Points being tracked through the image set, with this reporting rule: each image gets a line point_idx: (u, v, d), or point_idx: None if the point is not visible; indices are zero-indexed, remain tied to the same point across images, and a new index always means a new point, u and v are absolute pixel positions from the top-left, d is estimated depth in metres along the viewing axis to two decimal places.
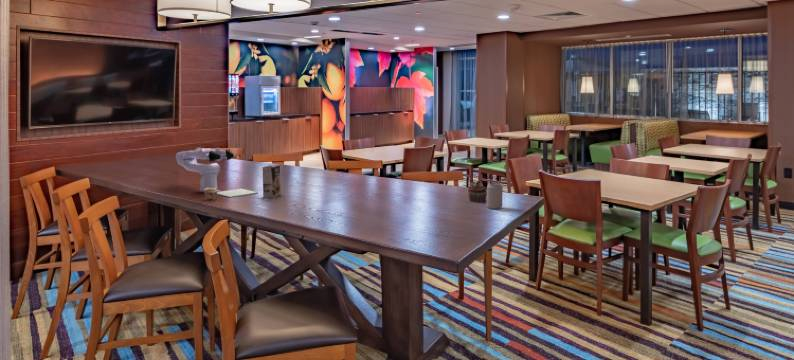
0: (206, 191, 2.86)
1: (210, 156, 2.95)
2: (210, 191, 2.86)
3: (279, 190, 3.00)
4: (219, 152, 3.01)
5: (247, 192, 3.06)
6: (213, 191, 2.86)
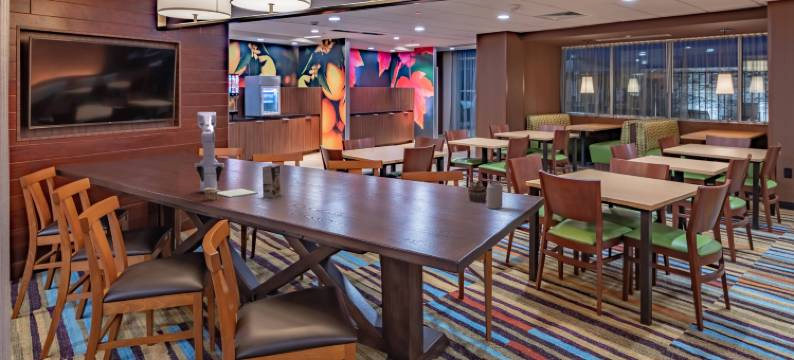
0: (206, 191, 2.86)
1: None
2: (210, 191, 2.86)
3: (279, 190, 3.00)
4: None
5: (247, 192, 3.06)
6: (213, 191, 2.86)
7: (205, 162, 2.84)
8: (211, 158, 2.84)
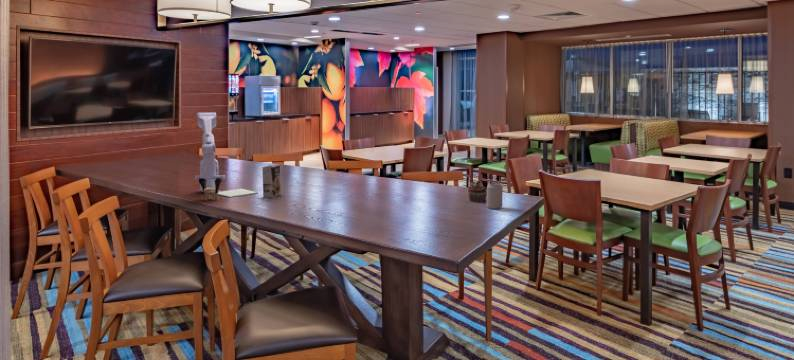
0: (206, 191, 2.86)
1: None
2: (210, 191, 2.86)
3: (279, 190, 3.00)
4: None
5: (247, 192, 3.06)
6: (213, 191, 2.86)
7: (206, 174, 2.85)
8: (211, 171, 2.85)
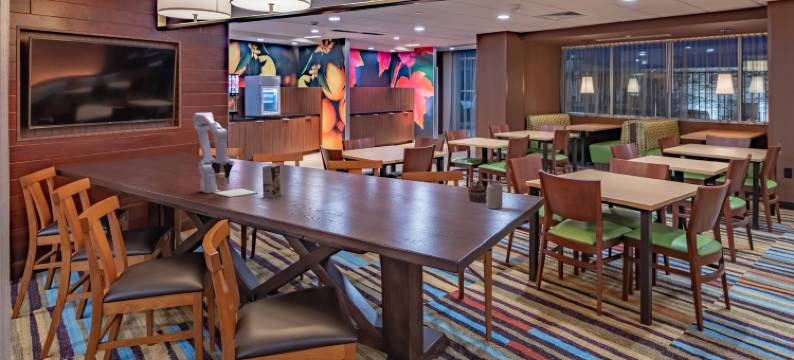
0: (216, 176, 2.93)
1: None
2: (219, 176, 2.93)
3: (279, 190, 3.00)
4: None
5: (247, 192, 3.06)
6: (222, 176, 2.92)
7: (216, 159, 2.92)
8: (221, 155, 2.91)
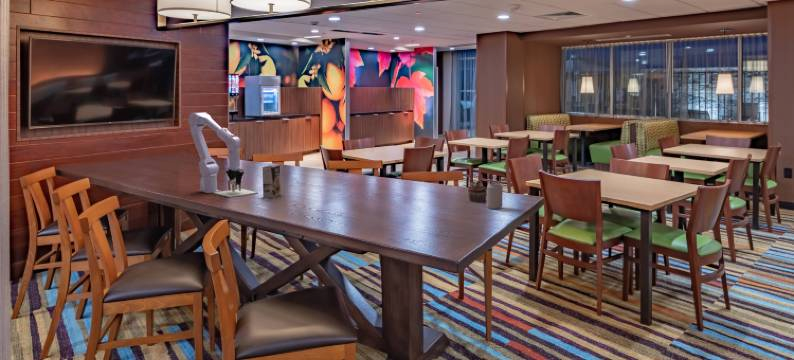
0: (228, 182, 3.03)
1: None
2: (230, 183, 3.02)
3: (279, 190, 3.00)
4: None
5: (247, 192, 3.06)
6: (232, 183, 3.01)
7: (229, 165, 3.02)
8: (232, 163, 3.00)
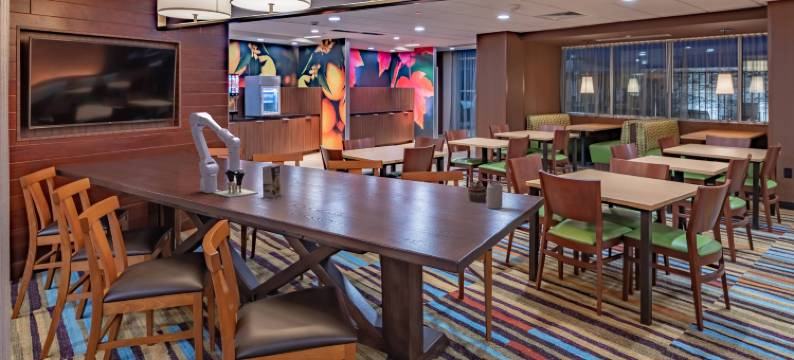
0: (228, 184, 3.04)
1: None
2: (230, 185, 3.02)
3: (279, 190, 3.00)
4: None
5: (247, 192, 3.06)
6: (232, 185, 3.01)
7: (229, 166, 3.02)
8: (232, 163, 3.00)
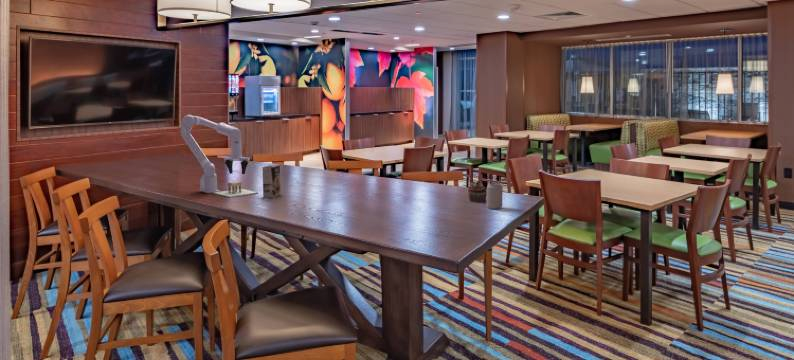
0: (228, 184, 3.04)
1: None
2: (230, 185, 3.02)
3: (279, 190, 3.00)
4: None
5: (247, 192, 3.06)
6: (232, 185, 3.01)
7: (232, 156, 3.11)
8: (237, 153, 3.10)
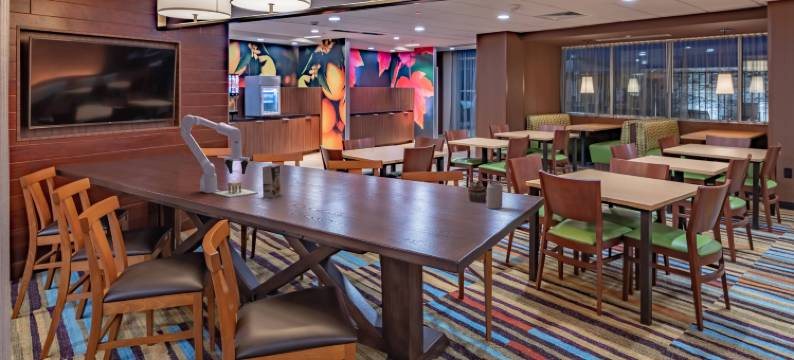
0: (228, 184, 3.04)
1: None
2: (230, 185, 3.02)
3: (279, 190, 3.00)
4: None
5: (247, 192, 3.06)
6: (232, 185, 3.01)
7: (232, 156, 3.11)
8: (237, 153, 3.10)
